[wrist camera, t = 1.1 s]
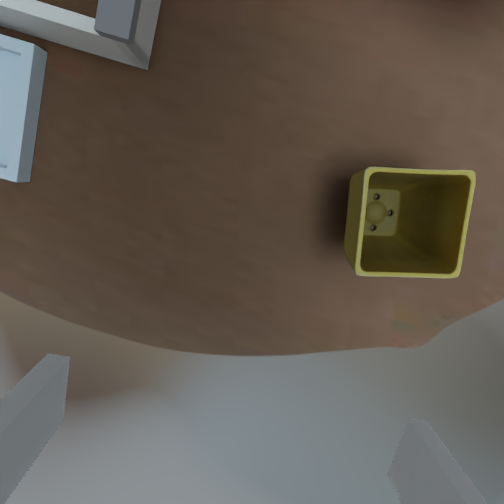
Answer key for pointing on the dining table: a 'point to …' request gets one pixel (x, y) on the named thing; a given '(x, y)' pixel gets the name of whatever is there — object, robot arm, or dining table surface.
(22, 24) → the bay
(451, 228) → the flower pot
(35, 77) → the tray
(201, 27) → the dining table surface
